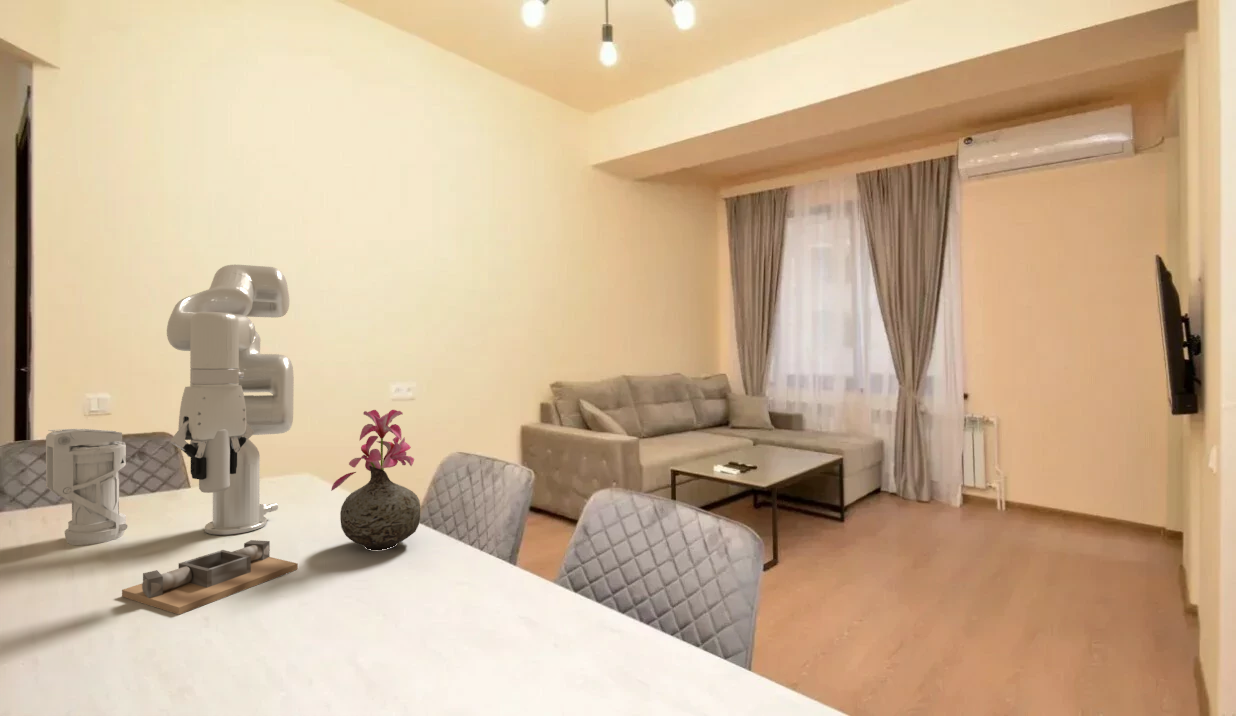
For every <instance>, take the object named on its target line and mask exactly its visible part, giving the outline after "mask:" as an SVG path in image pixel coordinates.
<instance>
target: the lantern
mask: <svg viewBox="0 0 1236 716" xmlns="http://www.w3.org/2000/svg"><path fill="white" fill-rule="evenodd" d="M48 431H50V432H49V433H48V434H46V435H45V479H46V480H45V484H46V485H45V486H46V488H47V489H48V490H50V491H51V492H52V493H53V494H54V495H56V496H57V497H60V498H61V497H62V498H63V499H65V500H69V501H71V520H69V521H68V525H67V528H66V529H65V530H64V537H65V540H66V544H69V545H72V546H86V545H97V544H101V543H107V542H110V541H114V540H116V539H119V538H121V537H122V536H124V534H125V530H127V529H128V524H127V515H126V514H125V513H122V512H120V470H122V469H123V468H124V467H126V465H127V462H126V461H127V460H126V459H127V455H126V454H127V445H126V442H125V441H123V432H121V431H117V430H110V429H109V430H108V429H107V430H105V429H91V428H63V429H62V428H61V429H48Z"/></svg>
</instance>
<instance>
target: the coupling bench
mask: <svg viewBox="0 0 1236 716" xmlns="http://www.w3.org/2000/svg"><path fill="white" fill-rule="evenodd" d="M270 548H271V546H270V540H259V539H258V540H256V539H255V540H254V539H251V540H249V541H246V542H244V544H243V548H240V549H236V550H233V551H229V550H225V549H221V550H218V551H215V552H211V553H209V554H206V555H201V556H199V557H195V558H192V559H188V560H186V561H182V562H178V568H175V569H173V570H169V571H167V572H164V573H161V572H160V571H159V570H152V571H147V572H143V573H142V582H141V583H139V584H136V585H133V586H130V587H127V588H124V589H122V590H121V597H122V598H125V599H128V600H131V601H134V602H138V603H141V604H144V605H147V606H151V607H154V608H157V609H160V610H164V611H165V612H168V613H169V612H170V613H172V614H173V613H174V614H176V615H182V614H185V613H188V612H190V611H192V610H195V609H198V608H201V607H203V606H206V605H208V604H211V603H213V602H217V601H219V600H221V599H224V598H226V597H229V596H232V595H234V594H237V593H240V592H242V591H245V590H247V589H251V588H253V587H255V586H257V585H261V584H263V583H265V582H269V581H271V580H274V579H276V578H279V577H282V576H285V575H286V573H287V574H290V573H292V572H294V570H295V571H298V570H297V569H299V563H298V562H292V561H288V560H285V559H281V558H280V559H279V558H275V557H271V556H270V555H271V554H270V553H271V551H270V550H271V549H270ZM289 572H290V573H289ZM281 575H282V576H281Z"/></svg>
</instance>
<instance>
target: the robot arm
mask: <svg viewBox="0 0 1236 716" xmlns="http://www.w3.org/2000/svg"><path fill="white" fill-rule="evenodd" d="M289 309H290V294H289V288H288V282H287V279H286V277H285V275H284V273H283V272H282V271H281V270H280V269H278V268H276V267H274V266H266V265H265V266H263V265H252V264H251V265H249V264H248V265H247V264H228V265H224V266H222V267H220V268H219V269H217V270H216V271H215V274H214V276H213V278H212V282H211V284H210V286H209V288H208V289H206V290H203V291H200V292H197V293H195V294H191V295H188V296H186V297H184V298H182V299H180V300H179V301H178V302H177V303H176V304H175V305H174V307H173V310H172V311H171V314H170V316H169V318H168V322H167V327H166V338H167V340H168V343H169V344H170V346H171V347H172V348H174V349H176V350H178V351H182V352H183V351H184V352H190V353H189V354H190V355H189V356H190V358H189V359H190V360H189V361H190V362H189V366H190V369H189V371H190V372H189V376H190V377H189V378H190V379H189V380H190V381H189V382H190V384H189V386H185V387H184V390H183V392H182V393H183V394H182V396H181V402H180V407H179V415H178V428H177V429H178V430H177V432H176V433H175V434H174V435H173V436H172V438H171V439H170V444H172V445H173V446H175V447H176V448H178V449H179V450H181V451H182V452H184V453H185V454H186V456H187V457H188V458H190V475H191V478H192V479H194V480H199V479H200V480H203V479H205V478H206V461H207V460H206V457H203V454H204V450H205V447H206V443H207V441H209V440H212V439H214V437H215V435H216V433H217V431H218V430H222V429H226V430H228V435H229V437H230V486H229V487H228V489H227V490H224V491H220V492H213V493H212V521H210V522H208V523H207V524H205V525H204V533H207V534H209V535H215V536H217V535H218V536H220V535H221V536H222V535H223V536H224V535H225V536H226V535H236V534H237V535H238V534H243V533H249V532H252V531H255V530H259V529H261V528H263V527H265V526H266V525H267V524H268V523H267V521H268V520H267V517H265V515H266V514H267V513H271V512H275V511H278V509H279V505H278V504H277V503H276V502H274V503H270V504H267V505H266V504H265V503H263V504H262V503H261V502H260V495H261V494H260V489H261V488H260V481H261V480H260V478H261V476H260V475H261V474H260V473H261V472H260V471H261V468H260V465H261V464H260V461H261V460H260V459H261V457H260V451H259V449H258V447H257V446H256V445H255V444H254V443H253V442H252V441H251V440H250V438H251V437H252V436H260V435H262V436H263V435H279V434H285V433H287V432H289V431H290V430H291V428H292V426H293V423H294V422H293V421H294V389H295V388H294V386H295V385H294V366H293V364H292V363H293V362H292V361H291V359H290V358H289V357H288V356H286V355H284V354H279V353H278V354H277V353H274V354H273V353H269V354H268V353H261V337H260V334H259V332H257V330H256V328H255V324H254V323H253V322H252V321H251V319H250V318H254V317H255V318H274V319H275V318H282V317H285V316H286V315H287V313H288V311H289ZM244 393H271V394H270V395H268V394H267V395H244ZM187 441H190V442H189V443H188V442H187Z"/></svg>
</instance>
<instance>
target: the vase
mask: <svg viewBox="0 0 1236 716" xmlns="http://www.w3.org/2000/svg"><path fill="white" fill-rule="evenodd" d="M379 413H380V412H379V411H378V410H377V409H373V410H369V411H367V410H364V412H363V413H362V414H363V415H364V416H367V417H368V418H369V419H370V420H372V422H373V423H374V424H375V425H374V424H373V423H367V424H365V425H364V426H363V427H362V429H361V432H360V434H359V442H360V441H361V440H362V439H364V438H365V437H366V436H367V435H369V434H370V433H371V432H375V433H376V434H377V435H370V436H369V437H368V438H367V439H366V442H365V443H364V444H362V445H361V447H360V451H361V452H362V453H363V454H362V455H361V457H354V458H353V459H351V460H350V461H349V462H348V465H349V466H350V467H351V468H356V467H357V465H358V464H359V463H360V461H361V460H363V459H364V461H365V464H364V468H365V470H367V471H369V472H370V479H369V481H368V482H367V483H366V484H364V485H363V486H362V487H359V488H358V489H356V490H354V491H353V492H351V493H350V494H349V495H348V496H346V498H345V499H344V502H343V503H342V505H341V507H340V514H339V515H340V516H339V517H340V518H339V519H340V520H339V521H340V527H341V530H342V531H343V533H344V535H345V537H347V538H348V539H349V540H350V541H352V542H353V543H355V544H357V545H360V546H362V547H364V548H365V547H366V548H367V549H371V550H382V549H387V548H390V547H393V546H395V545H396V544H397V545H398V544H400V543H401V542H403V541H404V540H406V539H408V538H409V537H411V536H412V535H413V534H414V533H416V531H417V530H418V527H419V526H420V520H421V502H420V499H419V497H418V494H416V493H415V492H414V491H413V490H411V489H410V488H408V487H405V486H403V485H401V484H398V483H395V482H393V481H392V480H390V477H389V476H388V474H387V472H386V471H385V469H386V468H387V469H389V468H394V467H395V466H397V465H398V462H400V463H401V464H402V466H407V463H408V464H409V466H410V467H412V466H413V464H414V461H415V458H414V457H412V456H411V455H407V451H408V450H410V449H412V446H411V445H410V444H409V443H408V442H406V441H405V440H406V438H405V437H403V438H402V429H401V428H402V427H400V425H398V424H394V423H393V424H391V423H392V422H393V419H396V417H398V416H401V415H403V414H404V413H403V412H402V411H401V410H397V409H390V411H389V412H388V413H385V414H384V415H382V416H380V414H379ZM389 424H391V425H389ZM389 432H390V433H392V434H393V435H394V436H395V437H394V438H392V441H393V442H392V441H386V440H384V438H385V436H386V435H387V434H388V433H389ZM378 438H380V440H378ZM375 442H376V443H378V444H380V450H379V449H378V448H372V446H373V445H374V443H375ZM384 446H385V448H386V450H387V451H386V453H385V455H383V454H384ZM371 448H372V449H371ZM356 473H357V471H353V472H348V473H346V474H344V475H343V476H341V477H339V478H338V479H336V480H335V481H334V482H333V484H332V486H331V490H330V491H331V492H332V491H334V490H336V489H337V488H338V487H340V486H341V485H342V484H343V483H344V482H345V481H346V480H347V479H349V478H350V477H351V476H353V475H355V474H356Z"/></svg>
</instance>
